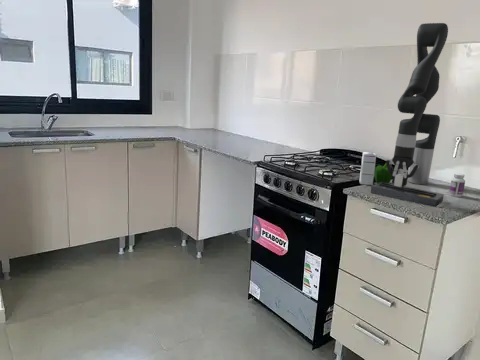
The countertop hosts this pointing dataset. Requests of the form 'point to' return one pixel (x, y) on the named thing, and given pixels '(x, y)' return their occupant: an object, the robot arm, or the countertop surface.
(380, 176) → the bell pepper
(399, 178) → the fader knob
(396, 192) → the slider panel
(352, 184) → the countertop surface
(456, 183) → the pill bottle
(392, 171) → the robot arm
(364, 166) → the syrup box
